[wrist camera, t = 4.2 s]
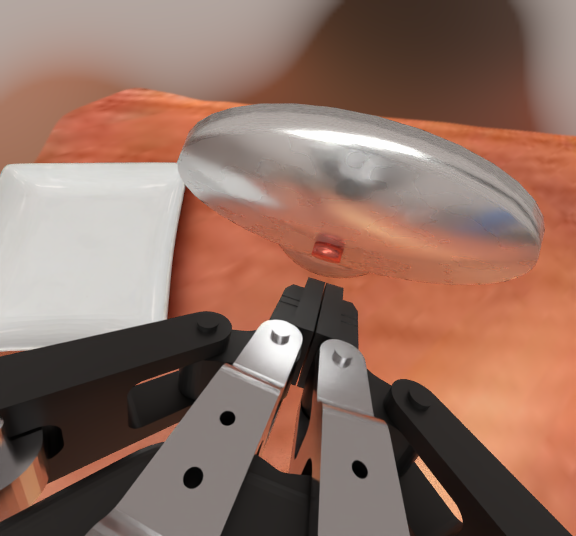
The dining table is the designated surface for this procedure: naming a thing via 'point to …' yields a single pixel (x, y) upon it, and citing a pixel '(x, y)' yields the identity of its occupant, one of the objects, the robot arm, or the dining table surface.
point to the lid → (363, 193)
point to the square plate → (84, 249)
